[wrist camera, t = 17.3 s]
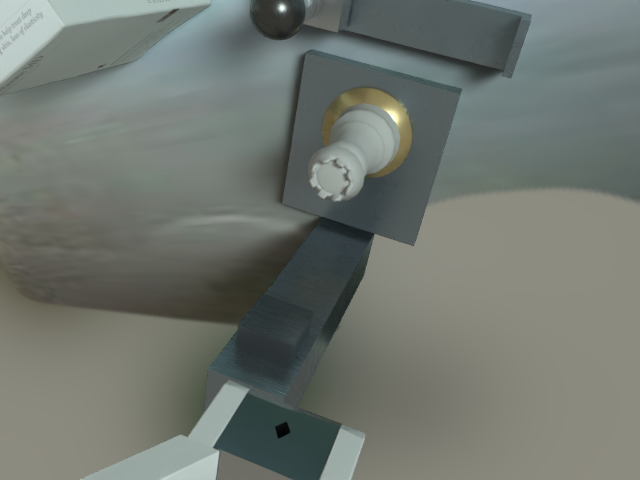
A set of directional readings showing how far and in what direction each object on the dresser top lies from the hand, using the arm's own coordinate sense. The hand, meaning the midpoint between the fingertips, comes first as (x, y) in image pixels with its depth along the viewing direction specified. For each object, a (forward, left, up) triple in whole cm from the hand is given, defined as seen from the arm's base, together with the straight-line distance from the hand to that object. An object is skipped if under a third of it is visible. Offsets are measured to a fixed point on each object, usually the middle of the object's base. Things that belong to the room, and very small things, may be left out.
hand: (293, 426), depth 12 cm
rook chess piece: (+5, +4, -28) cm, 28 cm away
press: (+5, +5, -29) cm, 30 cm away
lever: (+9, -4, -27) cm, 29 cm away
